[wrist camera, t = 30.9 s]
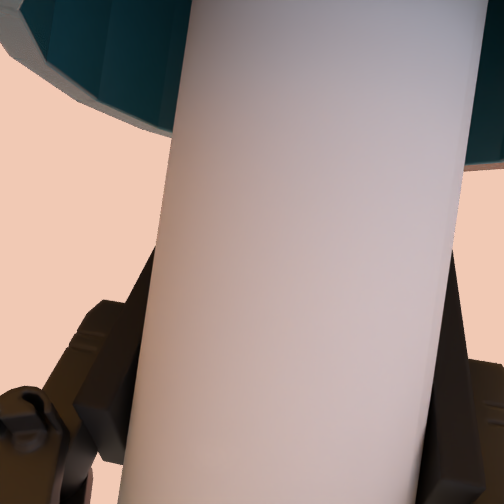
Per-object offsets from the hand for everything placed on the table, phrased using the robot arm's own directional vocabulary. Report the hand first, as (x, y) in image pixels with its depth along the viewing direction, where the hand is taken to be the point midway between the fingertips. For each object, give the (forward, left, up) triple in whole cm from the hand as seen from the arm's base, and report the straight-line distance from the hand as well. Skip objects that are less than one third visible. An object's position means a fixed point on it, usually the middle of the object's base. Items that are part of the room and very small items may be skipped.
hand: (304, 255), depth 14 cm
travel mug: (0, +4, -9) cm, 9 cm away
